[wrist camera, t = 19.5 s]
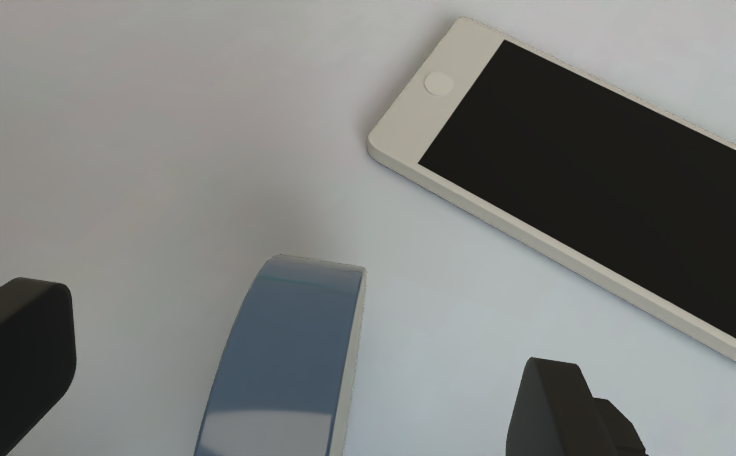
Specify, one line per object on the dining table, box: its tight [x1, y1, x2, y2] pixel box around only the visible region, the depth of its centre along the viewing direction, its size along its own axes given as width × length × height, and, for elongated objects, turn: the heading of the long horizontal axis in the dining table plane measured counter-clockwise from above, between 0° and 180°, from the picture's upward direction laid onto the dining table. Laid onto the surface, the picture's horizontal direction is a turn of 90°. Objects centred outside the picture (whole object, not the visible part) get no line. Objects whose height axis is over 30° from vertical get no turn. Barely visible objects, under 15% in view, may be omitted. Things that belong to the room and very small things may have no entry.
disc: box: [193, 254, 367, 456], centre depth 12 cm, size 2×8×8 cm, turn 171°
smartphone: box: [367, 17, 736, 362], centre depth 19 cm, size 7×15×1 cm, turn 57°
